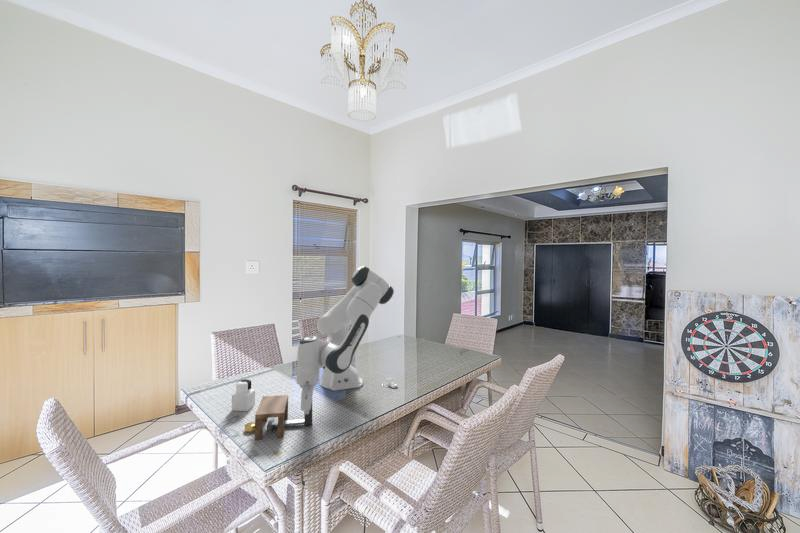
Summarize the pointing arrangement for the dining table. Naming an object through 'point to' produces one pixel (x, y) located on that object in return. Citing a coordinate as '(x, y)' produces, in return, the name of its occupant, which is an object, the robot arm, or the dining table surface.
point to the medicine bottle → (243, 396)
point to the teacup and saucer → (390, 382)
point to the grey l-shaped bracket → (291, 421)
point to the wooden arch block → (271, 413)
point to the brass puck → (250, 427)
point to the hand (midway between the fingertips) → (307, 411)
